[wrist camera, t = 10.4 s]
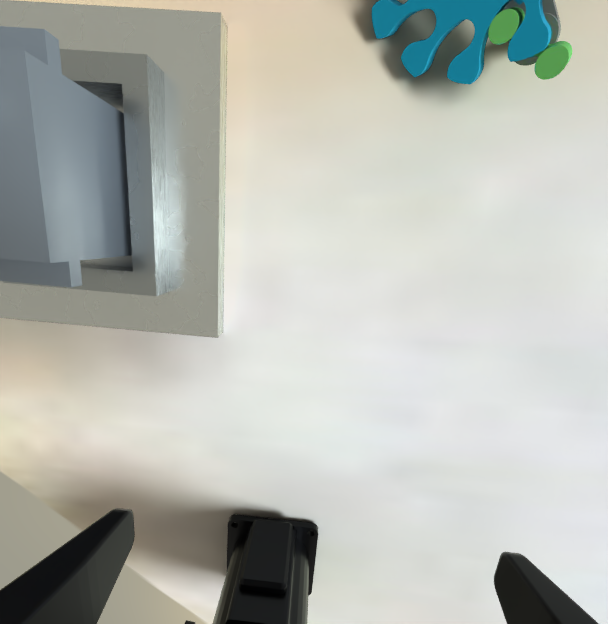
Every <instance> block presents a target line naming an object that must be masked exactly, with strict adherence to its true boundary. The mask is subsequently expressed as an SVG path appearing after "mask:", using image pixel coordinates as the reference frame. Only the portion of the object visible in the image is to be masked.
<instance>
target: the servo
mask: <svg viewBox="0 0 608 624" xmlns="http://www.w3.org/2000/svg"><path fill="white" fill-rule="evenodd" d="M131 255H132V246H131V229H130V212H129V195H128V177H127V160H126V143H125V126H124V113H122V112H121V111H119V110H118V109H116V108H115V107H113V106H111V105H110V104H108V103H107V102H105V101H104V100H102V99H100V98H99V97H97V96H96V95H94V94H92V93H91V92H89V91H88V90H86V89H85V88H83V87H81V86H80V85H78V84H77V83H75V82H74V81H72V80H70V79H69V78H67V77H66V76H64V75H62V69H61V59H60V48H59V40H58V39H57V38H56V37H54V36H53V35H52V34H50V33H49V32H48V31H46V30H45V29H37V28H21V27H6V26H0V281H7V282H18V283H28V284H39V285H50V286H61V287H76V286H81V285H82V277H81V266H80V260H89V259H99V258H110V257H120V256H131Z"/></svg>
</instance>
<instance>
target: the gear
mask: <svg viewBox="0 0 608 624" xmlns="http://www.w3.org/2000/svg"><path fill="white" fill-rule="evenodd" d="M424 9H431V10H433V11H434V13H435V15H436V27H435V30H434V32H433V33H432V35H431V36H430V37H429V38H428V39H424V40H420V41H417V42H413V43H411V44H409V45H408V46H407V47H406V48H405V50H404V51H403V53H402V56H401V60H402V63H403V65H404V66H405V68H406V69H407V70H408V72H409V73H410V74H411V75H412V76H414V77H417V76H419V75H421V74H423V73H425V72H426V71H427V70H428V69H429V68H430V66H431V64H432V62H433V59H434V56H435V54H436V52H437V49H438V47H439V46H440V44H441V43H442V41H443V40H444V38H445V37H446V36H447V35H448V34H449V33H450V32H451V31H452V30H453V29H454V28H455V27H456V26H457V25H459V24H460V23H461V22H462V21H464V20H465V19H468V20H470V21H472V23H473V24H474V27H475V34H474V38H473V40H472V42H471V44H470V45H469V46H468V47H467V48H466V49H465V50H464V51H462V52H461V53H460V54H458V55H457V56H456V57H455V58H454V59H453V60H452V62H451V63H450V65H449V68H448V72H447V78H449V79H450V80H451V81H454V82H456V83H461V84H471V83H473V82H474V81H476V80H477V79H478V77H479V76H480V74H481V73H482V70H483V67H484V52H485V46H486V42H487V39H488V36H489V39H490V41H491V42H492V43H494V44H497V45H499V44H503V43H505V42H507V41H508V42H509V46H508V58H509V60H510V62H512V61H515V62H516V63H517V64H519V65H531V64H534V63H536V64H535V73H536V75H537V77H538V78H540V79H550V78H553V77H555V76H557V75H558V74H559V73H560V72H561V71H562V70H563V69H564V68H565V66H566V65H567V63H568V62H569V60H570V58H571V55H572V47H571V45H570V44H569V43H568V42H565V41H559V42H557V40H558V38H559V35H560V30H561V25H560V20H559V16H558V12H557V8H556V4H555V0H408V1H407V2H406V3H405V4H402V3H400V2H399V1H397V0H379V1H378V2H376V4H375V5H374V6H373V7H372V22H373V27H374V31H375V34H376V38H379V39H381V38H385V37H389V36H391V35H393V34H394V33H395V32H396V31H397V30H398V28H399V27H400V26H401V24H402V23H403V22H404V21H405V20H406V19H407V18H408V17H410V16H411V15H412V14H414V13H416V12H418V11H421V10H424Z"/></svg>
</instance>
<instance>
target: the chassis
mask: <svg viewBox="0 0 608 624" xmlns="http://www.w3.org/2000/svg"><path fill="white" fill-rule="evenodd" d="M0 26H6V27H21V28H37V29H45V30H46V31H48V32H49V33H50V34H52V35H53V36H54V37H56V38H57V39H58V40H59V48H60V59H61V69H62V75H64V76H66V77H67V78H69V79H70V80H72V81H74V82H75V83H77V84H78V85H80V86H81V87H83V88H85V89H86V90H88V91H89V92H91V93H92V94H94V95H96V96H97V97H99V98H100V99H102V100H104V101H105V102H107V103H108V104H110V105H111V106H113V107H115V108H116V109H118V110H119V111H121V112H122V113H124V126H125V143H126V160H127V177H128V195H129V212H130V229H131V246H132V255H131V256H120V257H110V258H99V259H89V260H80V266H81V277H82V285H81V286H76V287H61V286H50V285H39V284H28V283H18V282H7V281H0V318H9V319H20V320H31V321H42V322H52V323H63V324H74V325H85V326H96V327H107V328H117V329H128V330H139V331H150V332H161V333H172V334H182V335H193V336H204V337H215V338H218V337H219V336H220V335H221V334H222V333H223V293H224V223H225V153H226V83H227V25H226V23H225V21H224V19H223V16H222V14H221V13H217V12H199V11H182V10H165V9H148V8H131V7H114V6H96V5H79V4H62V3H45V2H28V1H11V0H0Z"/></svg>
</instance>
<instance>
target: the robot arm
mask: <svg viewBox="0 0 608 624" xmlns="http://www.w3.org/2000/svg"><path fill="white" fill-rule="evenodd" d="M235 522H236V523H235ZM134 535H135V534H134V520H133V512H132V511H131V510H128V509H119V508H118V509H114V510H112V511H110V512H109V513H107V514H106V515H105V516H103V517H102V518H100V519H99V520H98V521H96V522H95V523H93V524H92V525H91V526H89V527H88V528H86V529H85V530H84V531H82V532H81V533H79V534H78V535H77V536H75V537H74V538H72V539H71V540H70V541H68V542H67V543H65V544H64V545H63V546H62V547H60V548H58V549H57V550H56V551H54V552H53V553H52V554H50V555H49V556H47V557H46V558H44V559H43V560H42V561H40V562H39V563H37V564H36V565H35V566H33V567H32V568H30V569H29V570H28V571H26V572H25V573H24V574H22V575H21V576H19V577H18V578H16V579H15V580H14V581H12V582H11V583H9V584H8V585H7V586H5V587H4V588H2V589H1V590H0V624H97V622H98V619H99V617H100V615H101V613H102V611H103V609H104V607H105V605H106V602H107V600H108V598H109V596H110V593H111V591H112V589H113V587H114V585H115V583H116V580H117V578H118V576H119V574H120V572H121V569H122V567H123V565H124V563H125V561H126V559H127V556H128V554H129V552H130V550H131V548H132V545H133V542H134ZM317 539H318V527H317V525H316V524H314V523H308V522H298V521H289V520H280V519H271V518H262V517H253V516H244V515H232V516H231V517H230V519H229V522H228V544H227V574H226V578H225V581H224V585H223V588H222V592H221V596H220V599H219V603H218V606H217V610H216V614H215V617H214V621H213V624H307V615H308V595H310V594H311V592H312V583H313V574H314V565H315V557H316V548H317ZM494 585H495V589H496V592H497V595H498V598H499V601H500V604H501V607H502V610H503V613H504V616H505V619H506V622H507V624H598V623H597V622H596V621H595V620H594V619H593V618H592V617H591V616H590V615H589V614H587V613H586V612H585V611H584V610H583V609H582V608H581V607H580V606H579V605H578V604H576V603H575V602H574V601H573V600H572V599H571V598H570V597H569V596H568V595H567V594H565V593H564V592H563V591H562V590H561V589H560V588H559V587H558V586H557V585H556V584H554V583H553V582H552V581H551V580H550V579H549V578H548V577H547V576H546V575H545V574H543V573H542V572H541V571H540V570H539V569H538V568H537V567H536V566H535V565H534V564H532V563H531V562H530V561H529V560H528V559H527V558H526V557H524V556H523V555H521V554H519V553H511V552H503V553H502V554H501V556H500V559H499V562H498V565H497V569H496V572H495V575H494ZM185 624H195V622H191V621H186V622H185Z"/></svg>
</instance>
